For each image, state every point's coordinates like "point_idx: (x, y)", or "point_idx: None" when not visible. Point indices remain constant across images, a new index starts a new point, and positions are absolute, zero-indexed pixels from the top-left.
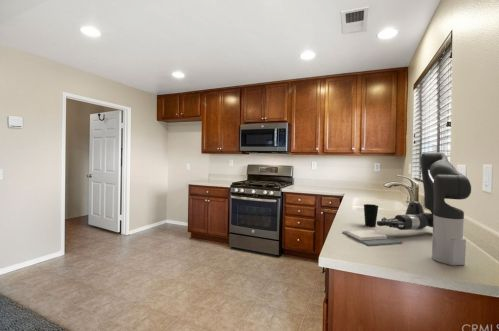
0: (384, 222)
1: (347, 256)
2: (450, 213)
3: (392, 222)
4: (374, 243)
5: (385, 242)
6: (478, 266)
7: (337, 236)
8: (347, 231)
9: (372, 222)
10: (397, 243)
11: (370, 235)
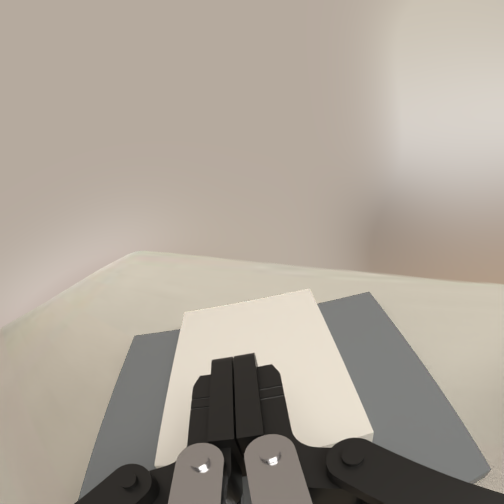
0: (200, 428)
1: (111, 277)
2: None
3: (98, 489)
4: (129, 360)
5: (112, 419)
6: None
7: (301, 281)
8: (375, 309)
9: None
10: None
11: (200, 361)
